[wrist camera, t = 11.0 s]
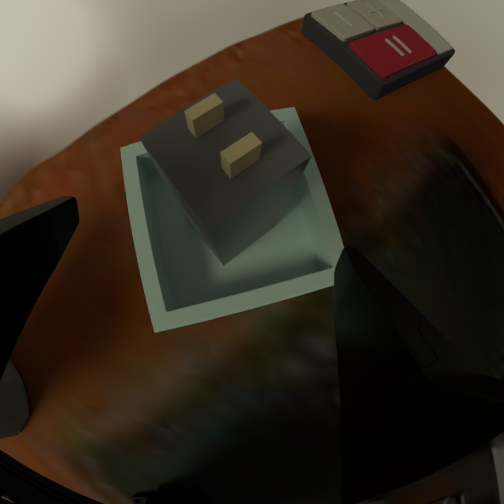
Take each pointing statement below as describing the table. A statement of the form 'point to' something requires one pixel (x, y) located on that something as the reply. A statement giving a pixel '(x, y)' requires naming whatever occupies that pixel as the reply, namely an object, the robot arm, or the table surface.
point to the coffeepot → (12, 402)
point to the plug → (227, 166)
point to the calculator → (378, 43)
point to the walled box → (241, 266)
